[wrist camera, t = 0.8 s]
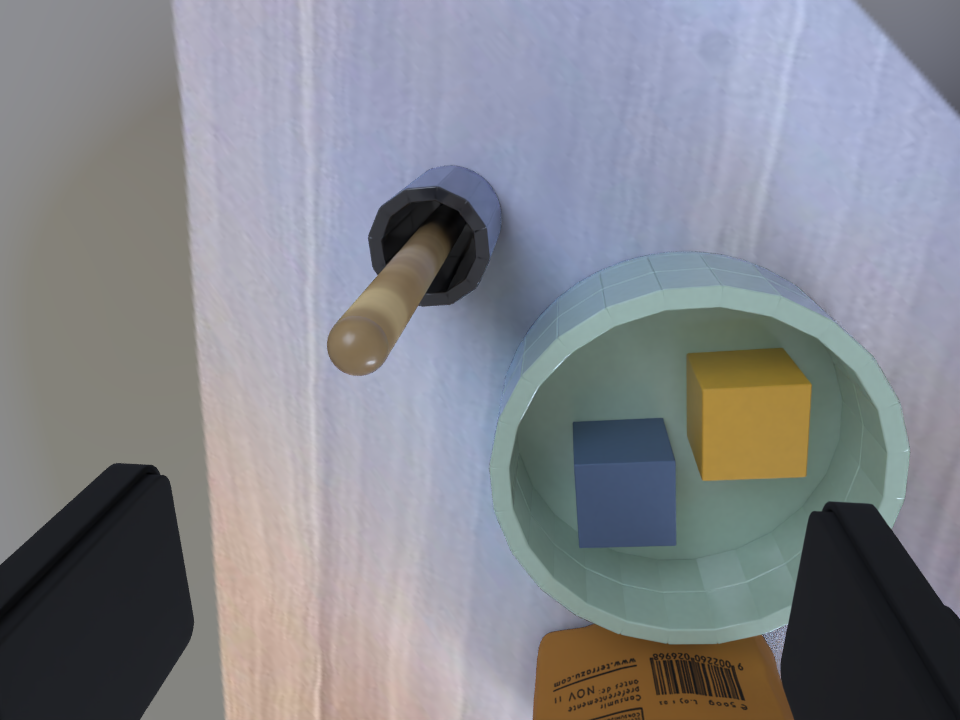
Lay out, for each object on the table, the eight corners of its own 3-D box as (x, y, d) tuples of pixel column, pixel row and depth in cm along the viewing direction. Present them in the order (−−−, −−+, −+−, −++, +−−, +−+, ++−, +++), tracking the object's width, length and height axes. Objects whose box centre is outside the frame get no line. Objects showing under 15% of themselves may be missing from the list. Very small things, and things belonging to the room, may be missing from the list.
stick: (431, 203, 31) (313, 328, 16) (464, 200, 31) (377, 323, 16) (435, 236, 32) (324, 387, 17) (468, 234, 32) (386, 384, 17)
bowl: (485, 265, 32) (470, 302, 27) (869, 236, 30) (931, 271, 25) (515, 568, 38) (508, 646, 33) (842, 561, 36) (889, 643, 31)
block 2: (686, 352, 32) (702, 389, 29) (783, 346, 32) (812, 383, 28) (686, 436, 34) (701, 481, 30) (779, 432, 33) (807, 478, 30)
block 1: (572, 421, 34) (573, 465, 30) (662, 417, 34) (675, 460, 30) (577, 498, 35) (579, 549, 32) (664, 495, 35) (676, 546, 31)
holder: (396, 169, 31) (360, 192, 26) (496, 160, 31) (482, 181, 25) (409, 268, 33) (378, 310, 27) (505, 261, 32) (494, 302, 27)
